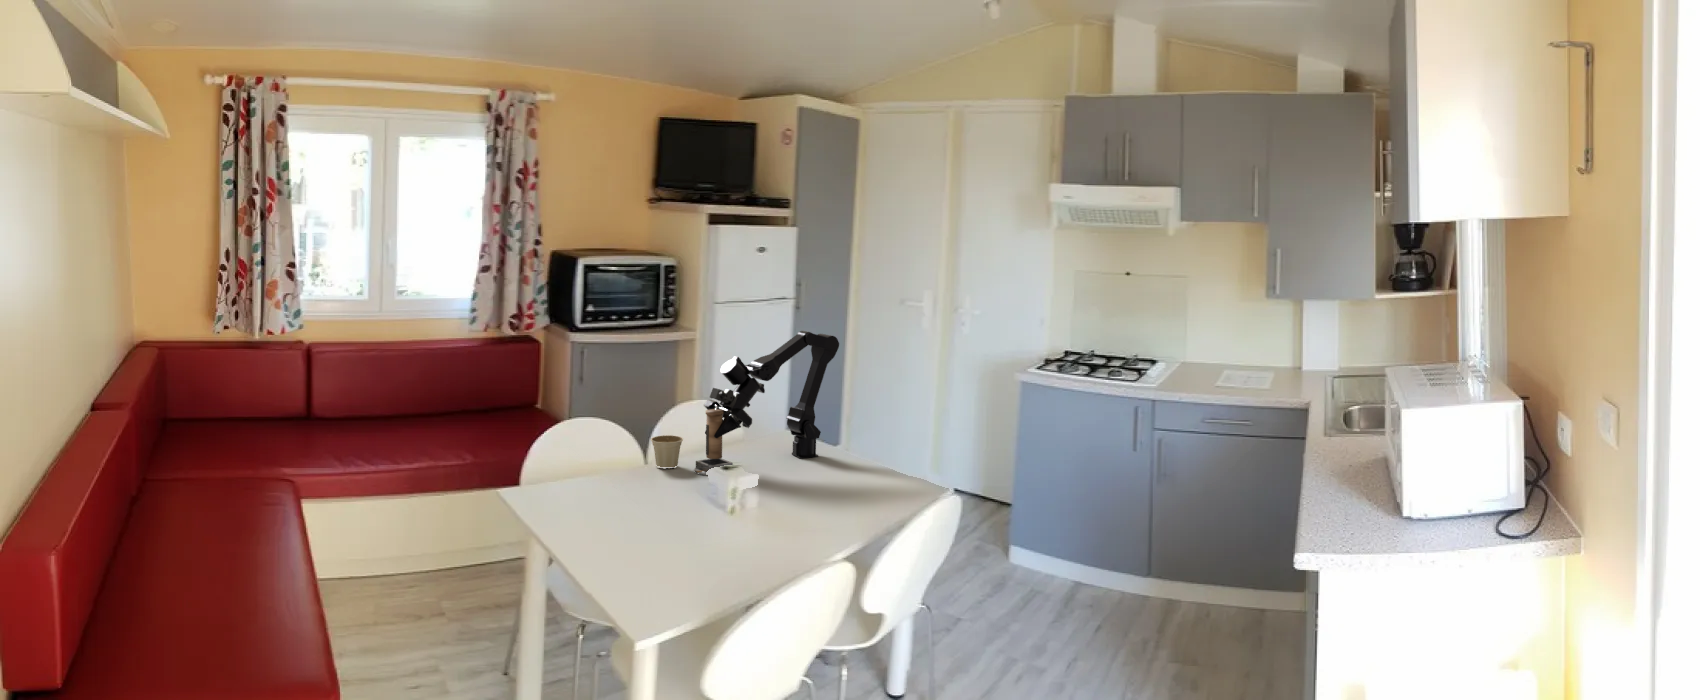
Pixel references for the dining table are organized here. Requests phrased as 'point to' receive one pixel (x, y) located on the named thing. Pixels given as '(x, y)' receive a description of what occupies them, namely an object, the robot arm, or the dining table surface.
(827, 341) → the robot arm
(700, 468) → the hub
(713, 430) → the brown tapered domed piece
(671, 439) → the flower pot
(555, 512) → the dining table surface
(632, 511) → the dining table surface
